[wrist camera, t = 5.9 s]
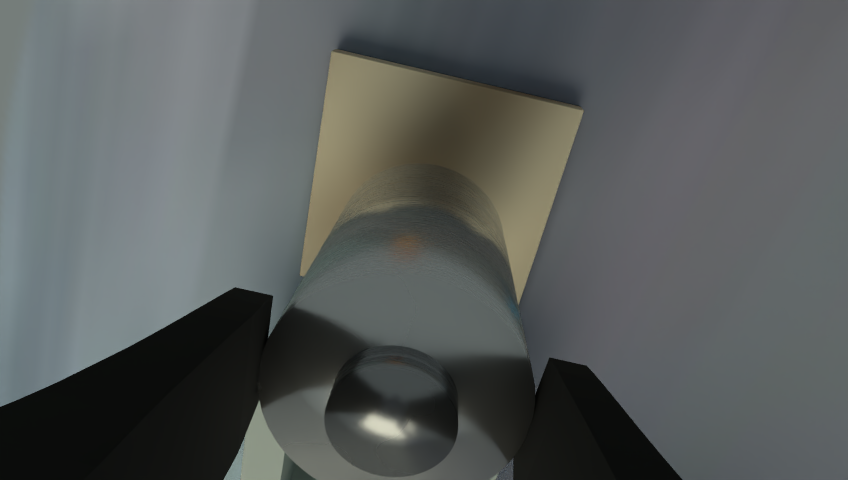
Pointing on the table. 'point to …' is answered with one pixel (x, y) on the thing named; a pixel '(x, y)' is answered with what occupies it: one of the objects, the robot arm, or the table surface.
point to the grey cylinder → (403, 339)
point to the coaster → (439, 145)
